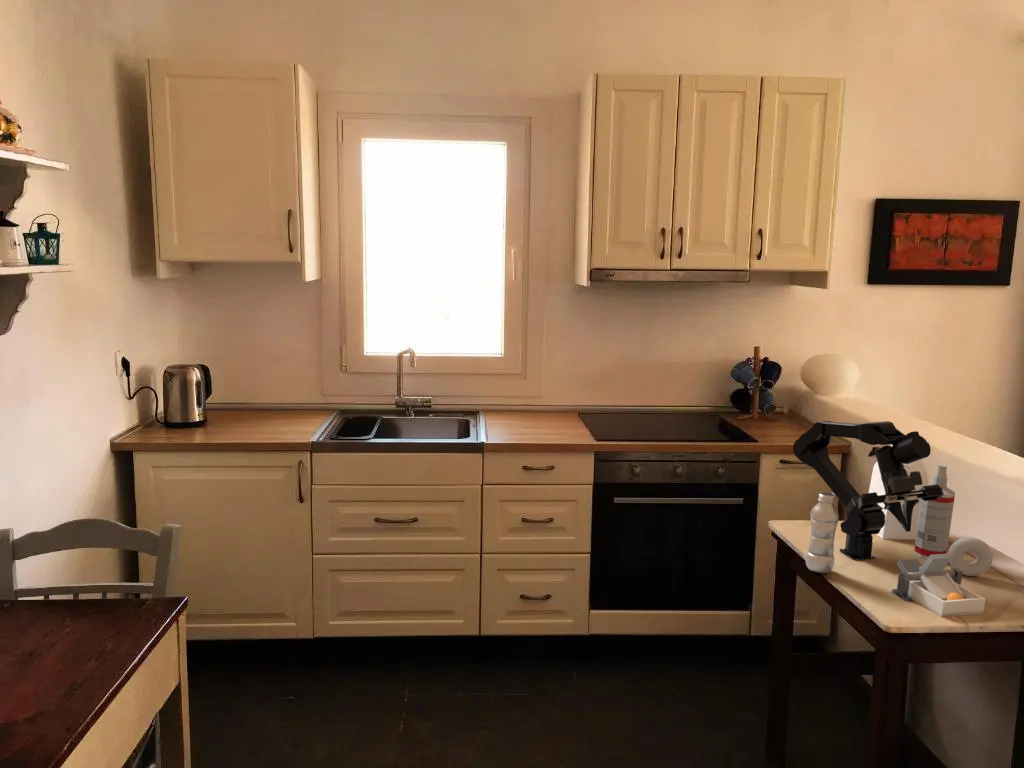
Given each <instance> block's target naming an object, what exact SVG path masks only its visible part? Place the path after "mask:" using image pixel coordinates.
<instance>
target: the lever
mask: <svg viewBox="0 0 1024 768" xmlns="http://www.w3.org/2000/svg"><path fill="white" fill-rule="evenodd" d="M951 558H952V557H951V556H950V554H948V553H947V554H933V555H930V556H929V558H928V559H927V560H926V559H925V562H923V564H922V562H920V561H919V559H918V558H905V559H899V560H898V561H897V563H896V565H897V566H898V568H899V569H900V572H904V571H905V572H906V573H908V574H910V581H917V580H921V581H922V583H923V584H924V585H925V587H926V588H927V590H928V591H929V592H930V593H931V594H933V595H935V596H936V597H938V598H940V599H947V596H948V595H949V594H950V593H953V592H956V593H959V594H961V595H962V596H963V595H964V594H963V593H962V591H961V590H960V589H959V587H958V586H957V585H956V583H955V582H954V581H953V579H952V578H951V577H954V576H955V571H954V570H951V569H945V567H947V565H948V564H949V563H950V562H949V561H950V560H951ZM944 569H945V570H944Z"/></svg>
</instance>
